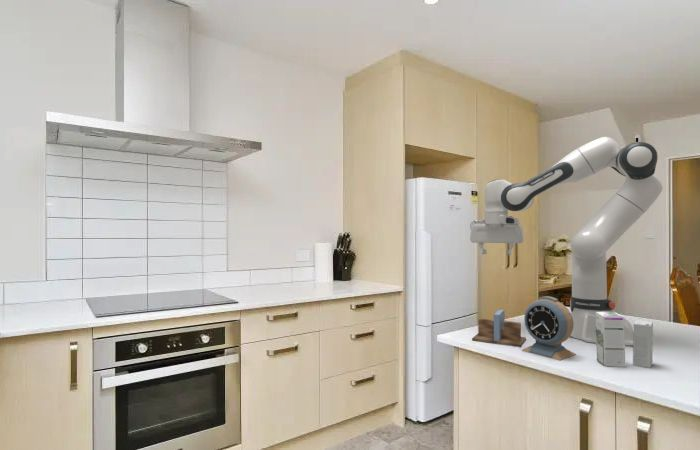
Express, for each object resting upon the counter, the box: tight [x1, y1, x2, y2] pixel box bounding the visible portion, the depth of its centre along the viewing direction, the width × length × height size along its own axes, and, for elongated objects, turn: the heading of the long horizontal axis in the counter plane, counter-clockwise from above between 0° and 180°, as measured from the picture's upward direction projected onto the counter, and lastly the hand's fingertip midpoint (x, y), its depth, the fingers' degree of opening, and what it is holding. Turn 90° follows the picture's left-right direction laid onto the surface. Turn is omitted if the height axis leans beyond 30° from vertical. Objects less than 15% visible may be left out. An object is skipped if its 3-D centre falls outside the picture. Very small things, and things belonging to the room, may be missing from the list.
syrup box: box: [595, 311, 627, 368], centre depth 119 cm, size 6×6×14 cm
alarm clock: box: [521, 295, 577, 361], centre depth 130 cm, size 14×10×18 cm
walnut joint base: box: [471, 317, 527, 348], centre depth 145 cm, size 16×11×7 cm
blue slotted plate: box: [493, 309, 506, 341], centre depth 145 cm, size 10×2×9 cm, turn 150°
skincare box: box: [632, 319, 654, 369], centre depth 118 cm, size 6×4×12 cm
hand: (496, 254), depth 165 cm, fingers open, 8 cm apart
